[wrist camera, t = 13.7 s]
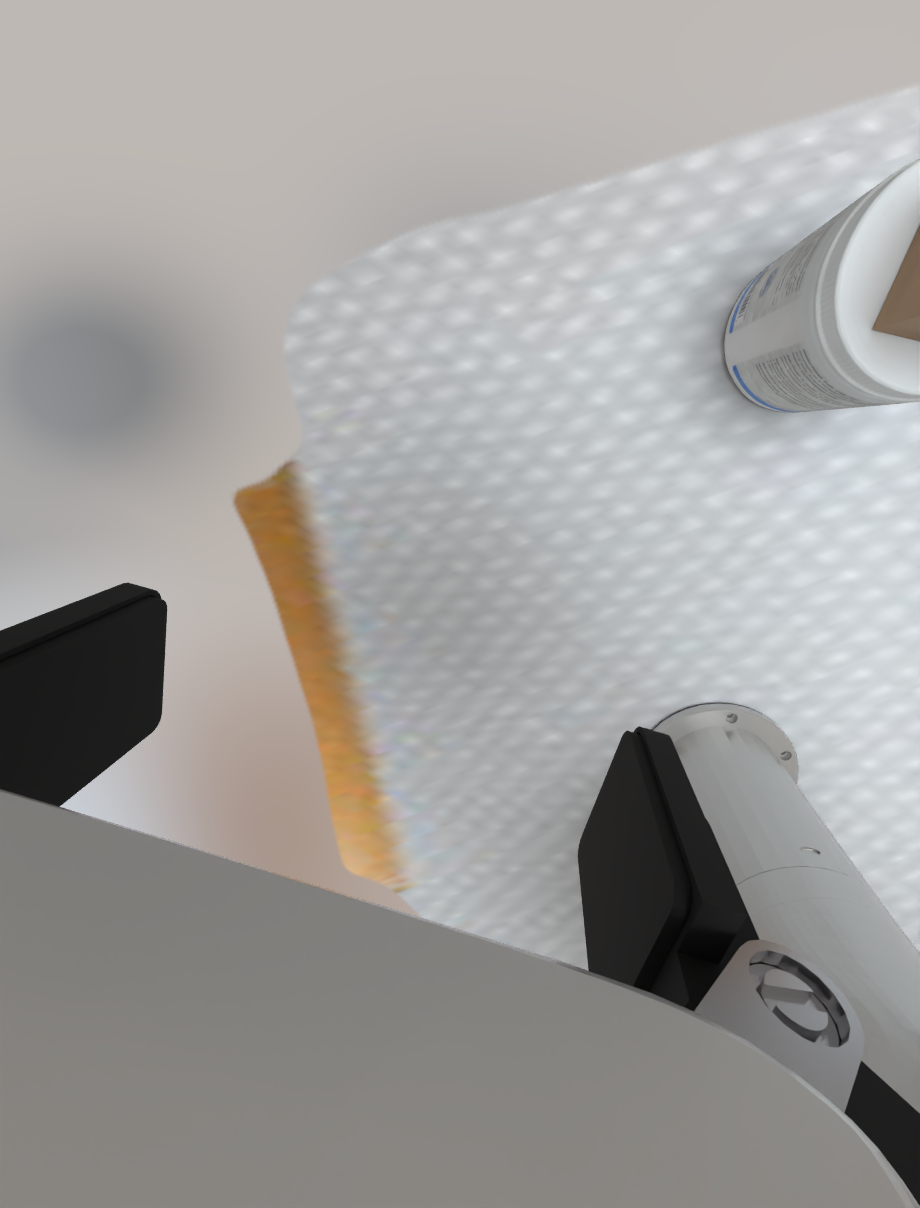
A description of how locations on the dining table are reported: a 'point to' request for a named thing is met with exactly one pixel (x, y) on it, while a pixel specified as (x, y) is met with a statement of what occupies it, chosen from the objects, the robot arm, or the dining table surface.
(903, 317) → the walnut block
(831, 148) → the dining table surface
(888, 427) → the dining table surface
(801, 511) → the dining table surface
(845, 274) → the supplement tub
